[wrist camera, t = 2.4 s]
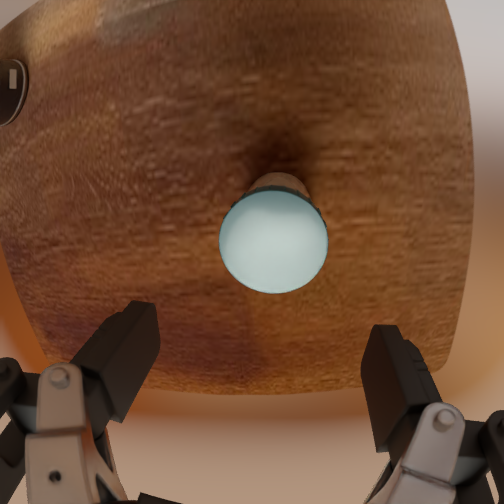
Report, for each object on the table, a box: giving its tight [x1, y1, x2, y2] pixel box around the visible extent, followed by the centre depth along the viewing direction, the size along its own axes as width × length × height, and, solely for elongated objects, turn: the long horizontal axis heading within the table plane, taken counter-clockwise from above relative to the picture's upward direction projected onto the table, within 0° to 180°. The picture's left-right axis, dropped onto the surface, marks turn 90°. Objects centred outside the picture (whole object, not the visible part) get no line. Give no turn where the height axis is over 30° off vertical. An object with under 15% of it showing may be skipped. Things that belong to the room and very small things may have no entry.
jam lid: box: [219, 184, 329, 293], centre depth 19 cm, size 7×7×2 cm
